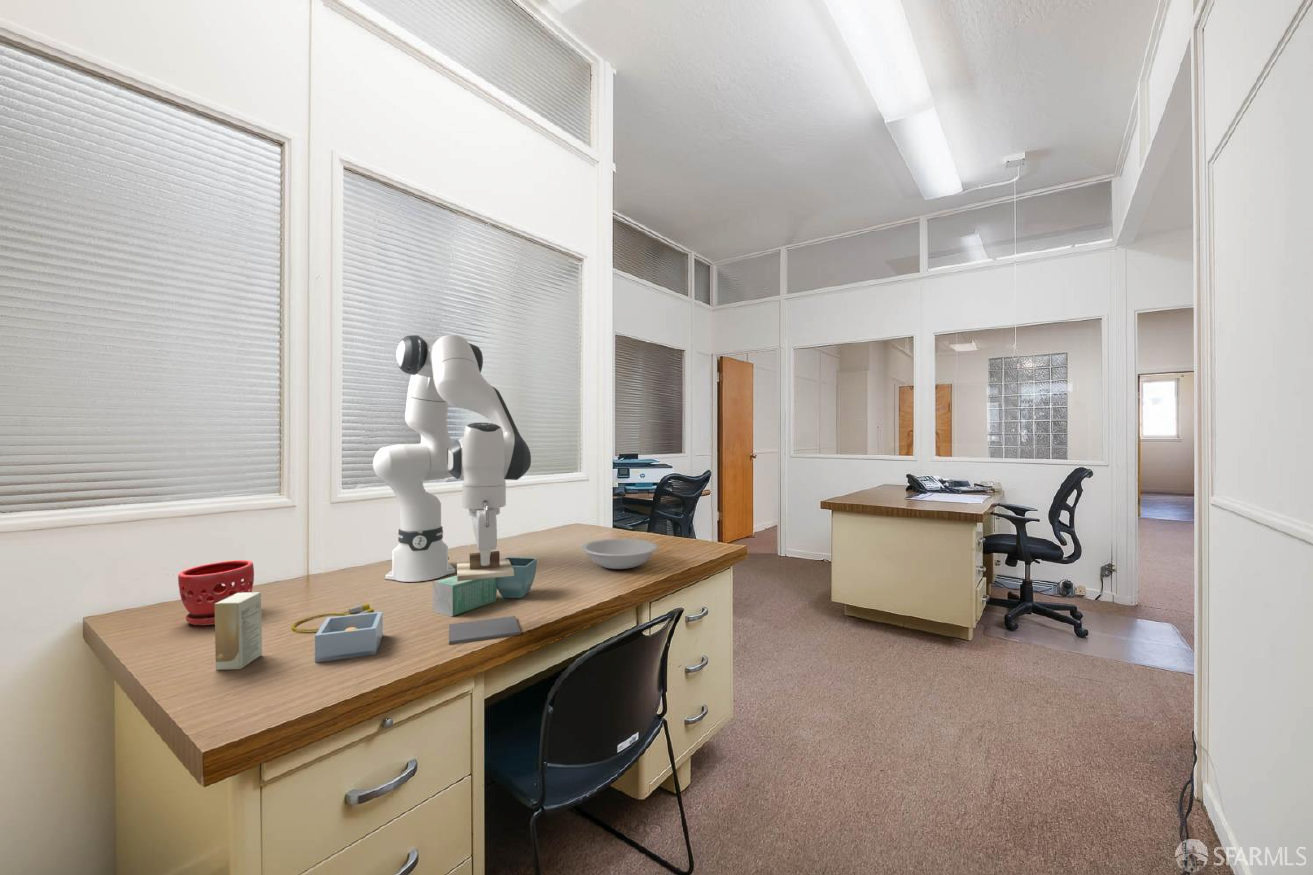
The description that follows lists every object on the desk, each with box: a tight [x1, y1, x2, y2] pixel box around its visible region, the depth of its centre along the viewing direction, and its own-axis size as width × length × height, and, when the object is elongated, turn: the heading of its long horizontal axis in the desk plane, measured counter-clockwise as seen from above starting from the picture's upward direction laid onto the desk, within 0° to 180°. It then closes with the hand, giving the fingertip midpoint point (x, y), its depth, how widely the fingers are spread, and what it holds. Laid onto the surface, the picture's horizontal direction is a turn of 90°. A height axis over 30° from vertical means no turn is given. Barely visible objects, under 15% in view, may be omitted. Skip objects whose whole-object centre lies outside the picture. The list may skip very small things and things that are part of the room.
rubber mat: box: [448, 615, 522, 645], centre depth 112 cm, size 10×14×1 cm
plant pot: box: [177, 559, 255, 626], centre depth 118 cm, size 13×13×12 cm
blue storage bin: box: [314, 611, 384, 663], centre depth 103 cm, size 10×10×5 cm
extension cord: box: [291, 603, 375, 634], centre depth 117 cm, size 12×16×2 cm
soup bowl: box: [581, 537, 659, 570], centre depth 165 cm, size 24×24×7 cm
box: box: [432, 575, 498, 618], centre depth 127 cm, size 7×14×8 cm, turn 150°
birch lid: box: [456, 550, 514, 581], centre depth 111 cm, size 11×11×4 cm
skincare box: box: [214, 591, 263, 671], centre depth 96 cm, size 6×4×12 cm
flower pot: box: [497, 556, 538, 599], centre depth 135 cm, size 9×9×9 cm
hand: (484, 562), depth 111 cm, fingers closed on birch lid, 2 cm apart
